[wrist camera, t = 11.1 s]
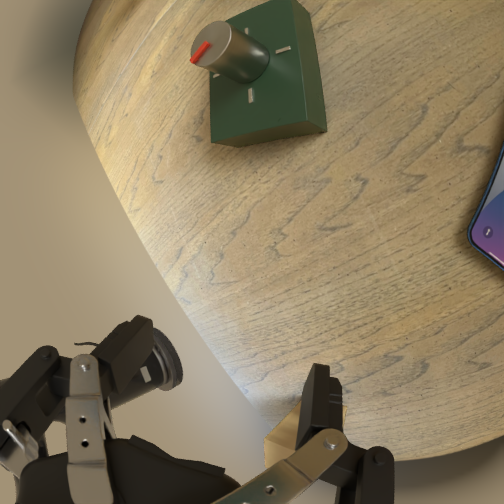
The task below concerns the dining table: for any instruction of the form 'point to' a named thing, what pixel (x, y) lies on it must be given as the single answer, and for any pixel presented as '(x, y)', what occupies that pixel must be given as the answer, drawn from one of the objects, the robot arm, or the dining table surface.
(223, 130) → the green tick-marked base
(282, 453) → the birch block
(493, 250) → the smartphone
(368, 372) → the dining table surface
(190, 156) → the dining table surface
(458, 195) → the dining table surface
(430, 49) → the dining table surface
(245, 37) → the steel cylinder red marker
